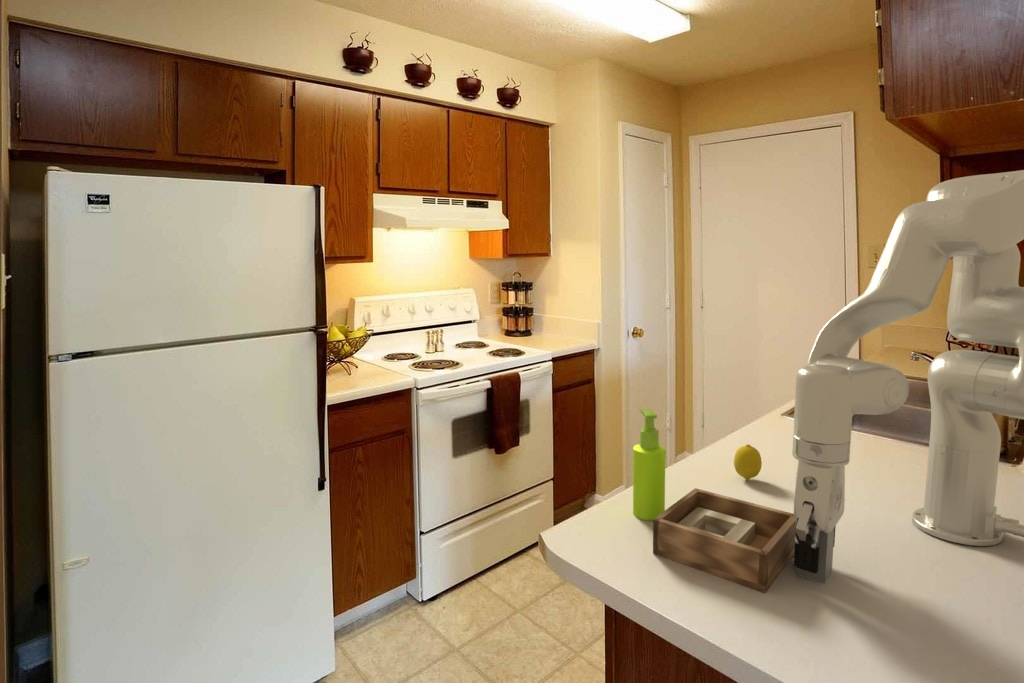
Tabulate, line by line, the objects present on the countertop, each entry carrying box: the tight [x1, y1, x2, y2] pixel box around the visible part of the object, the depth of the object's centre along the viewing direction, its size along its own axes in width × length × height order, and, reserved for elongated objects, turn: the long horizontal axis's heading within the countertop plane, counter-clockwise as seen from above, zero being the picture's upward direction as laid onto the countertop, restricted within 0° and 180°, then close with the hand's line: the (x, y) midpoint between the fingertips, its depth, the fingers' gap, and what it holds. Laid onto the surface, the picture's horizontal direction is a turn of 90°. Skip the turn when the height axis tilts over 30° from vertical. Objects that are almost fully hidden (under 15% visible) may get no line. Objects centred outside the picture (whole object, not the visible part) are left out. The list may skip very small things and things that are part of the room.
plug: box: [795, 521, 835, 584], centre depth 88 cm, size 4×4×10 cm
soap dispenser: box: [632, 408, 666, 522], centre depth 109 cm, size 6×7×20 cm
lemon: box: [733, 443, 763, 481], centre depth 124 cm, size 6×6×8 cm
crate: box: [652, 487, 797, 594], centre depth 95 cm, size 18×16×6 cm
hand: (814, 556), depth 88 cm, fingers open, 8 cm apart
